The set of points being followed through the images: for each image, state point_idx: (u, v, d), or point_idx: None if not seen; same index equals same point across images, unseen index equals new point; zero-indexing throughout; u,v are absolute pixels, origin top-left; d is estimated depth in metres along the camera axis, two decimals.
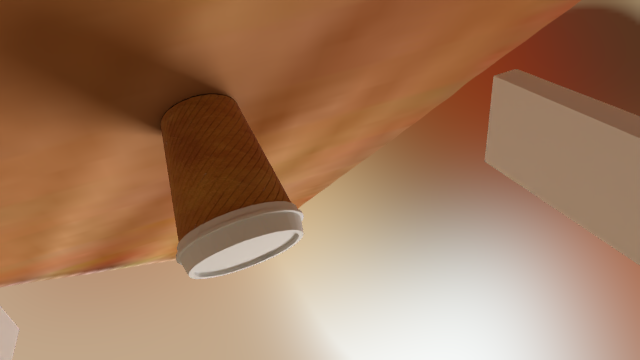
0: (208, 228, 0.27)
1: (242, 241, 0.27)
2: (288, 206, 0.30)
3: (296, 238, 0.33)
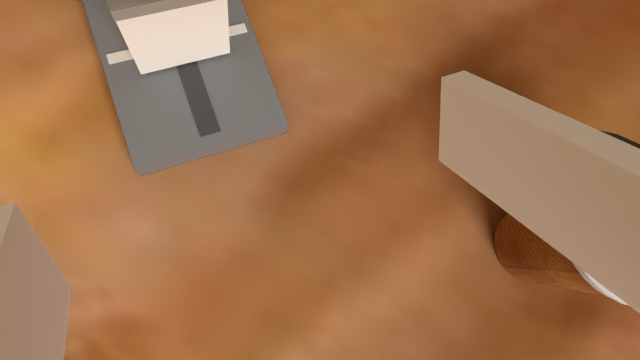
0: None
1: None
2: None
3: None
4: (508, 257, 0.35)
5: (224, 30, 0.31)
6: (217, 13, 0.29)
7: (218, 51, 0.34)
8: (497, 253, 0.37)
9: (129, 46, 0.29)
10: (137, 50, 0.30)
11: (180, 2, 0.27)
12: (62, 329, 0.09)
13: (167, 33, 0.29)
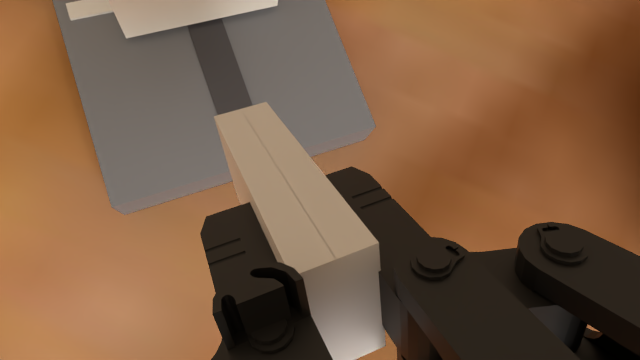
0: None
1: None
2: None
3: None
4: None
5: None
6: None
7: (259, 0, 0.20)
8: None
9: None
10: None
11: None
12: None
13: None
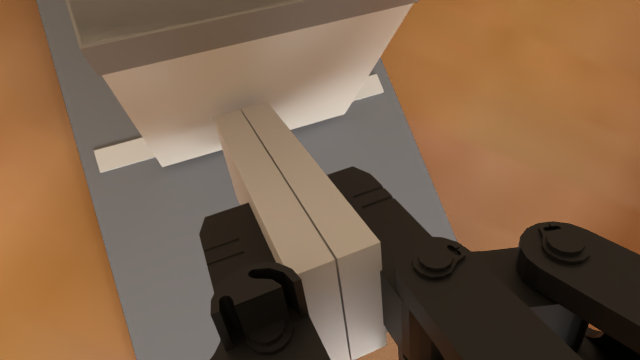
0: None
1: None
2: None
3: None
4: None
5: (360, 76, 0.13)
6: (369, 42, 0.11)
7: (325, 113, 0.16)
8: None
9: (140, 126, 0.11)
10: (158, 130, 0.12)
11: (299, 16, 0.09)
12: None
13: (239, 91, 0.11)
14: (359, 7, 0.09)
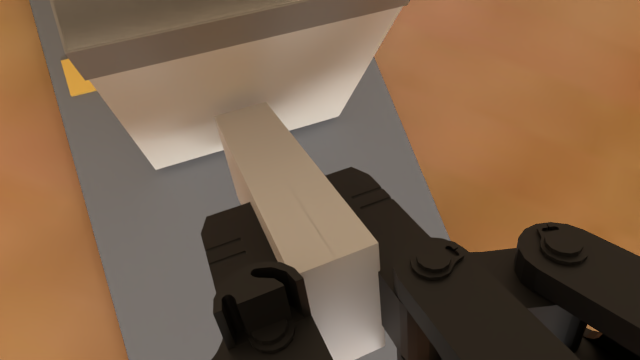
0: None
1: None
2: None
3: None
4: None
5: (352, 79, 0.13)
6: (360, 45, 0.11)
7: (319, 116, 0.16)
8: None
9: (130, 129, 0.11)
10: (150, 134, 0.12)
11: (286, 19, 0.09)
12: None
13: (229, 94, 0.11)
14: (348, 10, 0.09)
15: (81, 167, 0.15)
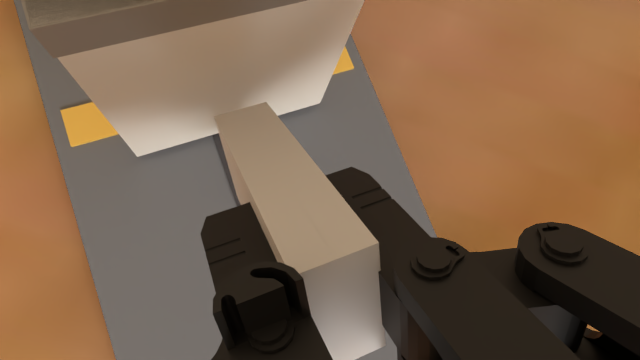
0: None
1: None
2: None
3: None
4: None
5: (328, 63, 0.14)
6: (332, 27, 0.11)
7: (300, 102, 0.16)
8: None
9: (106, 112, 0.11)
10: (127, 118, 0.12)
11: None
12: None
13: (204, 77, 0.12)
14: None
15: (82, 220, 0.15)
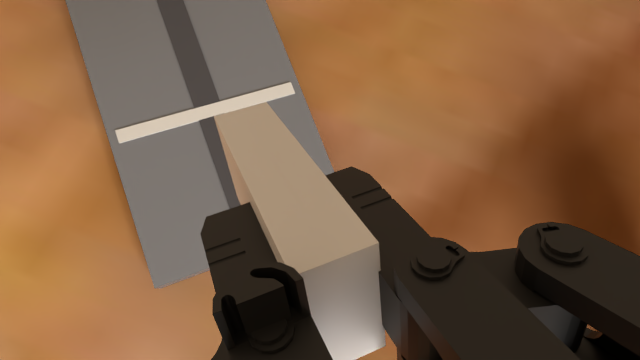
0: None
1: None
2: None
3: None
4: None
5: None
6: None
7: None
8: None
9: None
10: None
11: None
12: None
13: None
14: None
15: None
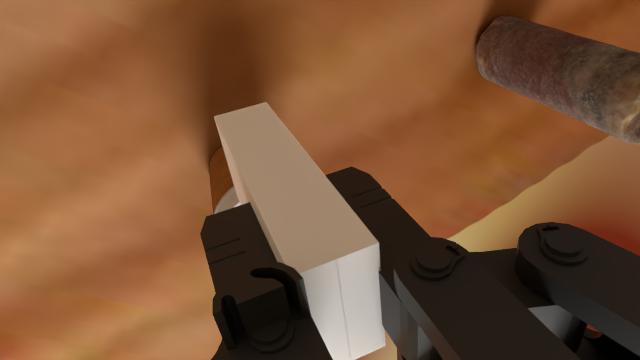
0: None
1: None
2: None
3: None
4: None
5: None
6: None
7: None
8: None
9: None
10: None
11: None
12: None
13: None
14: None
15: None
